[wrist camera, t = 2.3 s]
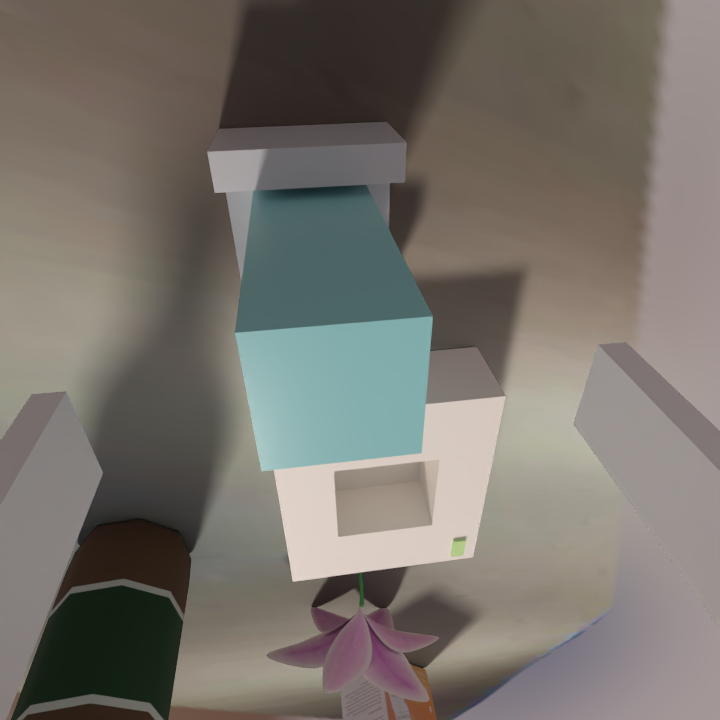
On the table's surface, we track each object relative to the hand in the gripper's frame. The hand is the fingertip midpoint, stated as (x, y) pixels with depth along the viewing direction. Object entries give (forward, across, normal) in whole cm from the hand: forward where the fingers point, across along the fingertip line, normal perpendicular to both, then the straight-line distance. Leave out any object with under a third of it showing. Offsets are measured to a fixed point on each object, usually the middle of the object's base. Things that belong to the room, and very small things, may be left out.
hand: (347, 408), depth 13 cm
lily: (+14, +1, -31) cm, 34 cm away
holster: (+13, 0, 0) cm, 13 cm away
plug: (+12, 0, 0) cm, 12 cm away
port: (+13, +3, -14) cm, 20 cm away
